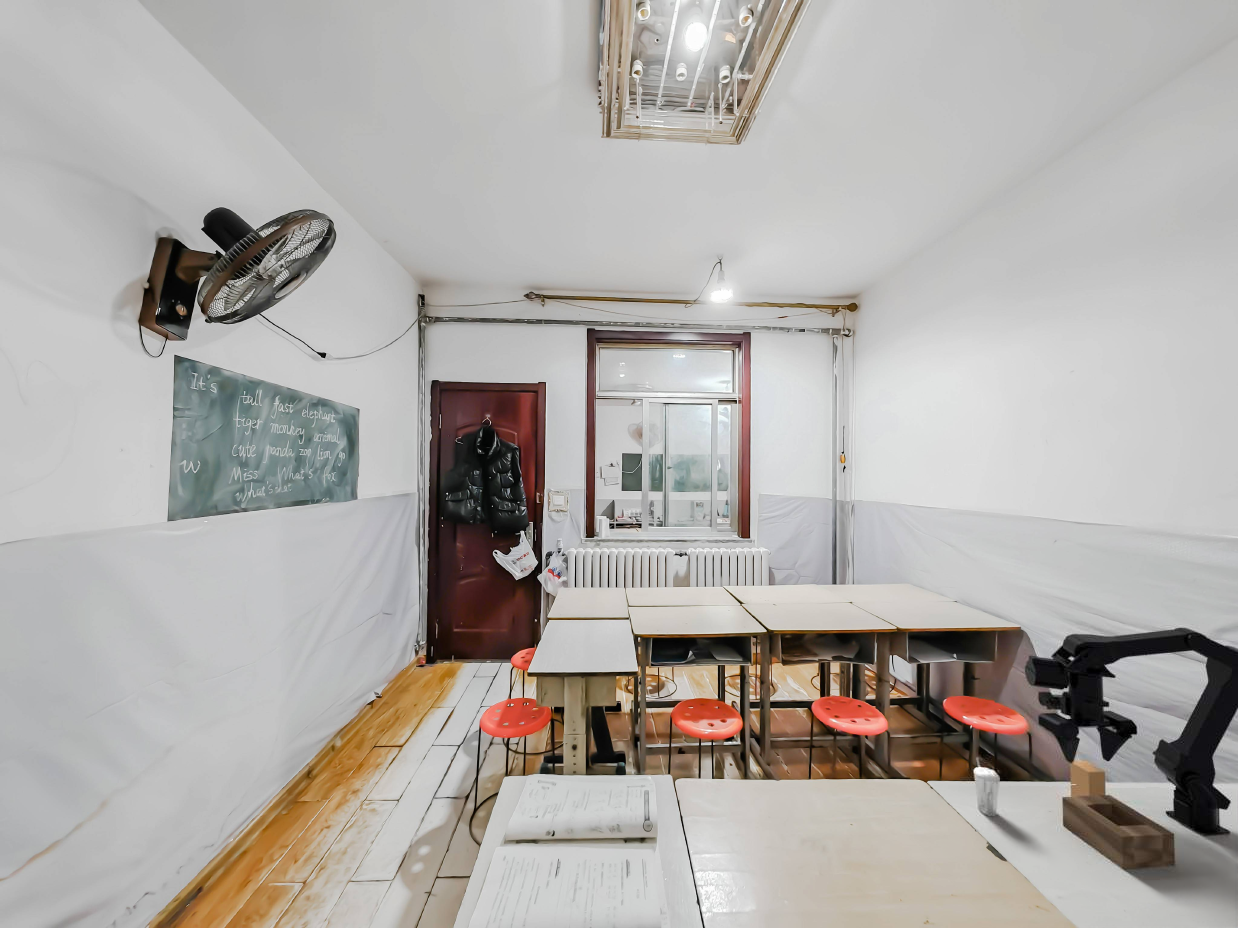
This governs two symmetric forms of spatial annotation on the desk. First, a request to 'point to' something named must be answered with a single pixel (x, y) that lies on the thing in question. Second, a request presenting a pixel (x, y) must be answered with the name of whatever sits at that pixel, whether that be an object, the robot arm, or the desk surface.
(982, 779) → the milkshake
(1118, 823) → the socket
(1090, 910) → the desk surface
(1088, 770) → the peg
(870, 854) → the desk surface
